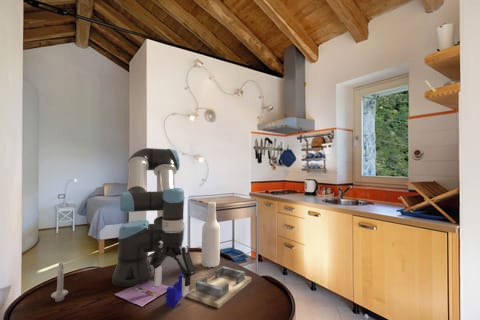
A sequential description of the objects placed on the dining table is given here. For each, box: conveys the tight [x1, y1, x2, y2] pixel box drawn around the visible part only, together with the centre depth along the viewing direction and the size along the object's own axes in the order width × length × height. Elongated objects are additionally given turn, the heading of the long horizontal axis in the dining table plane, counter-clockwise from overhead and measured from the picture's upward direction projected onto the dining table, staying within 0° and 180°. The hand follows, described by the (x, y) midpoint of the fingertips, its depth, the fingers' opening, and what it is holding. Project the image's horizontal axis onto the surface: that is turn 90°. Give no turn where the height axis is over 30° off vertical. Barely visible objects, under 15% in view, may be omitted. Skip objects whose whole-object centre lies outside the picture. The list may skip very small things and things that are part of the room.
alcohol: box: [200, 201, 221, 269], centre depth 122 cm, size 9×9×30 cm
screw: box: [50, 261, 69, 303], centre depth 88 cm, size 13×5×5 cm
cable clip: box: [165, 273, 184, 308], centre depth 91 cm, size 12×4×6 cm, turn 171°
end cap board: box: [186, 265, 253, 309], centre depth 98 cm, size 14×24×4 cm, turn 150°
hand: (171, 289), depth 91 cm, fingers open, 13 cm apart
